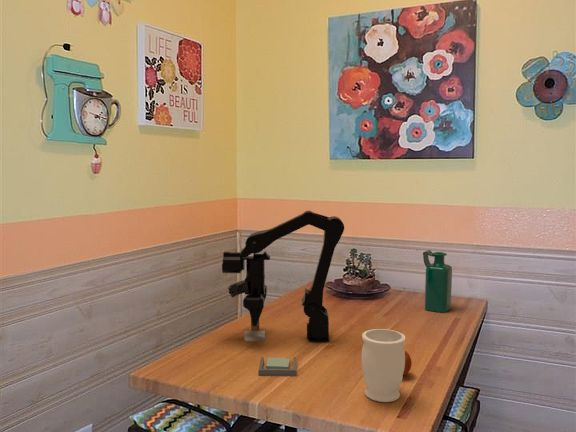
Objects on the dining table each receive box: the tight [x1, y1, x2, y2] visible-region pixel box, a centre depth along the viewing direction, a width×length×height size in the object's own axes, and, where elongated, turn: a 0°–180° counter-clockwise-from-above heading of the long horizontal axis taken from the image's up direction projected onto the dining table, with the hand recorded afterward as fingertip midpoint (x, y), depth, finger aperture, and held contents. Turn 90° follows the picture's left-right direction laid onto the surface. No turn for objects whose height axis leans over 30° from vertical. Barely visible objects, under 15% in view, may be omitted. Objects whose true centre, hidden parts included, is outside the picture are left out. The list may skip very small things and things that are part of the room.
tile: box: [265, 357, 291, 369], centre depth 146 cm, size 6×6×2 cm
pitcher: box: [422, 249, 453, 314], centre depth 201 cm, size 10×8×22 cm
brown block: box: [244, 319, 266, 342], centre depth 169 cm, size 6×4×9 cm, turn 89°
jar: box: [361, 328, 406, 403], centre depth 129 cm, size 11×10×15 cm
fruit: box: [403, 350, 413, 376], centre depth 141 cm, size 7×7×8 cm
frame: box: [258, 356, 297, 377], centre depth 146 cm, size 10×9×2 cm
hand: (255, 321), depth 169 cm, fingers open, 8 cm apart
